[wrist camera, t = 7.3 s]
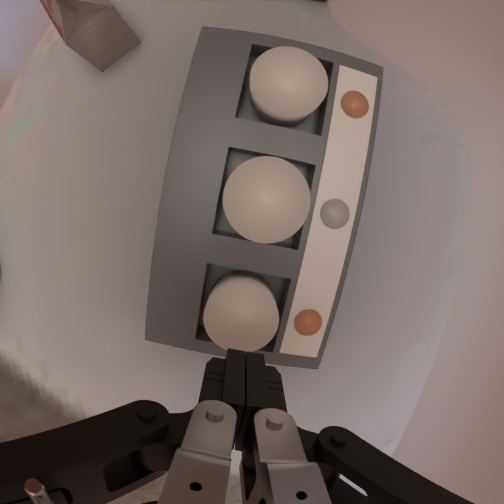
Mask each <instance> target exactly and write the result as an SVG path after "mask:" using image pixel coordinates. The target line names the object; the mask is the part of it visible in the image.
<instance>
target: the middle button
mask: <svg viewBox="0 0 504 504" xmlns="http://www.w3.org/2000/svg"><path fill="white" fill-rule="evenodd" d="M310 202H311V197H310V190H309V186H308V184H307V181H306V180H305V178H304V176H303V175H302V173H301V172H300V171H299V170H298V169H297V168H296V167H295V166H294V165H292V164H291V163H289V162H288V161H286V160H284V159H281V158H278V157H272V156H261V157H256V158H252V159H250V160H247V161H245V162H244V163H242V164H241V165H239V166H238V167H237V168H236V169H235V170H234V171H233V172H232V174H231V175H230V176H229V178H228V180H227V182H226V184H225V187H224V191H223V208H224V212H225V215H226V217H227V220H228V221H229V223H230V225H231V226H232V227H233V228H234V229H235V230H236V231H237V232H238V233H239V234H240V235H241V236H243V237H245V238H246V239H248V240H251V241H254V242H257V243H276V242H280V241H283V240H285V239H287V238H289V237H291V236H292V235H293V234H295V233H296V232H297V231H298V230H299V229H300V228H301V226H302V225H303V224H304V222H305V220H306V218H307V216H308V213H309V209H310Z"/></svg>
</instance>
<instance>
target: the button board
mask: <svg viewBox="0 0 504 504" xmlns="http://www.w3.org/2000/svg"><path fill="white" fill-rule="evenodd" d="M281 46H291V47H296V48H300V49H303V50H305V51H307V52H309V53H310V54H312V55H313V56H314V57H316V58H317V59H318V60H319V61H320V63H321V64H322V65H323V67H324V69H325V71H326V74H327V77H328V90H327V94H326V96H325V98H324V100H323V101H322V102H321V104H320V105H319V106H318V107H317V108H316V109H315V110H314V111H313V113H312V114H311V115H310V116H309V117H308V118H307V119H305V120H304V121H302V122H300V123H298V124H295V125H291V126H280V125H275V124H272V123H270V122H268V121H266V120H264V119H263V118H261V117H260V116H259V115H258V114H257V113H256V111H255V110H254V108H253V107H252V104H251V102H250V97H249V87H250V72H251V68H252V66H253V64H254V62H255V61H256V59H257V58H258V57H259V56H260V55H261V54H263V53H264V52H266V51H267V50H270V49H272V48H276V47H281ZM382 78H383V67H381V66H378V65H375V64H373V63H370V62H367V61H364V60H361V59H358V58H355V57H352V56H349V55H346V54H343V53H340V52H336V51H333V50H329V49H326V48H322V47H318V46H315V45H311V44H307V43H303V42H298V41H294V40H289V39H285V38H280V37H275V36H270V35H264V34H258V33H252V32H246V31H239V30H231V29H223V28H213V27H202V29H201V32H200V35H199V39H198V42H197V45H196V48H195V52H194V55H193V59H192V62H191V66H190V69H189V73H188V77H187V80H186V84H185V88H184V92H183V96H182V100H181V104H180V108H179V112H178V116H177V120H176V125H175V129H174V134H173V138H172V143H171V148H170V153H169V158H168V163H167V168H166V173H165V178H164V184H163V190H162V195H161V201H160V207H159V214H158V220H157V227H156V234H155V241H154V249H153V257H152V265H151V274H150V283H149V294H148V305H147V317H146V331H145V340H149V341H153V342H157V343H161V344H166V345H170V346H175V347H179V348H184V349H189V350H193V351H198V352H203V353H209V354H214V355H219V356H225V357H226V354H227V350H225V349H223V348H221V347H219V346H218V345H217V344H215V343H214V342H213V341H212V340H211V338H210V337H209V336H208V334H207V332H206V330H205V327H204V322H203V315H204V310H205V306H206V303H207V301H208V298H209V295H210V292H211V289H212V287H213V286H214V284H215V283H216V281H217V280H219V279H220V278H221V277H222V276H224V275H226V274H228V273H230V272H234V271H250V272H253V273H256V274H258V275H260V276H261V277H262V278H264V279H265V280H266V281H267V282H268V284H269V285H270V286H271V288H272V291H273V293H274V297H275V301H276V305H277V309H278V313H279V325H278V329H277V331H276V333H275V335H274V337H273V338H272V339H271V341H270V342H269V343H268V344H266V345H265V346H264V347H262V348H260V349H258V350H256V351H253V352H255V353H262V354H264V359H265V363H269V364H277V365H284V366H292V367H301V368H310V369H318V367H319V364H320V361H321V358H322V355H323V352H324V349H325V346H326V343H327V340H328V336H329V333H330V330H331V327H332V323H333V320H334V317H335V313H336V310H337V307H338V303H339V300H340V296H341V293H342V289H343V285H344V282H345V278H346V274H347V270H348V266H349V263H350V259H351V255H352V250H353V246H354V242H355V238H356V234H357V229H358V225H359V220H360V216H361V211H362V206H363V202H364V197H365V192H366V187H367V181H368V176H369V170H370V165H371V159H372V153H373V147H374V141H375V134H376V127H377V120H378V113H379V105H380V97H381V88H382ZM261 156H272V157H278V158H281V159H284V160H286V161H288V162H289V163H291V164H292V165H294V166H295V167H296V168H297V169H298V170H299V171H300V172H301V173H302V175H303V176H304V178H305V180H306V181H307V184H308V186H309V190H310V197H311V202H310V209H309V213H308V216H307V218H306V220H305V222H304V224H303V225H302V226H301V228H300V229H299V230H298V231H297V232H296V233H295V234H293V235H292V236H291V237H289V238H287V239H285V240H283V241H280V242H276V243H257V242H254V241H251V240H248V239H246V238H245V237H243V236H241V235H240V234H239V233H238V232H237V231H236V230H235V229H234V228H233V227H232V226H231V225H230V223H229V221H228V220H227V217H226V215H225V212H224V208H223V191H224V187H225V184H226V182H227V180H228V178H229V176H230V175H231V174H232V172H233V171H234V170H235V169H236V168H237V167H238V166H239V165H241V164H242V163H244V162H245V161H247V160H250V159H252V158H256V157H261Z"/></svg>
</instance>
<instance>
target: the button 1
mask: <svg viewBox="0 0 504 504" xmlns="http://www.w3.org/2000/svg"><path fill="white" fill-rule="evenodd" d="M203 322H204V327H205V330H206V332H207V334H208V336H209V337H210V338H211V340H212V341H213V342H214V343H215V344H217V345H218V346H219V347H221V348H223V349H225V350H227V349H228V348H231V349H237V350H243V351H245V353H246V351H249V352H253V351H256V350H258V349H260V348H262V347H264V346H265V345H266V344H268V343H269V342H270V341H271V339H272V338H273V337H274V335H275V333H276V331H277V329H278V325H279V313H278V309H277V305H276V301H275V297H274V293H273V291H272V288H271V286H270V285H269V284H268V282H267V281H266V280H265V279H264V278H262V277H261V276H260V275H258V274H256V273H253V272H250V271H234V272H230V273H228V274H226V275H224V276H222V277H221V278H220V279H219V280H217V281H216V283H215V284H214V286H213V287H212V289H211V292H210V295H209V298H208V301H207V303H206V306H205V310H204V315H203Z"/></svg>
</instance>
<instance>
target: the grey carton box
mask: <svg viewBox="0 0 504 504" xmlns="http://www.w3.org/2000/svg"><path fill="white" fill-rule="evenodd" d="M40 2H41V3H42V5H43V7H44V8H45V10H46V12H47V13H48V15H49V17H50V19H51V20H52V22H53V24H54V26H55V27H56V29H57V31H58V32H59V34H60V36H61V37H62V39H63V41H64V42H65V44H66V45H67V46H69V47H70V48H71V49H73V50H74V51H76V52H77V53H78V54H80V55H81V56H82V57H84V58H85V59H86V60H88V61H89V62H90V63H92V64H93V65H94V66H96V67H97V68H98V69H100V70H101V71H102V72H103V71H104V70H106V69H107V68H108V67H109V66H111V65H112V64H113V63H114V62H116V61H117V60H118V59H119V58H121V57H122V56H123V55H125V54H126V53H127V52H129V51H130V50H131V49H133V48H134V47H135V46H137V45H138V44H140V43H141V42H140V40H139V39H138V38H137V37H136V35H135V34H134V33H133V31H132V30H131V29H130V27H129V26H128V25H127V23H126V22H125V21H124V20H123V18H122V17H121V16H120V14H119V13H118V12H117V10H116V9H115V8H114V7H113V5H112V4H111V3H110V2H109V1H108V0H40Z"/></svg>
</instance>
